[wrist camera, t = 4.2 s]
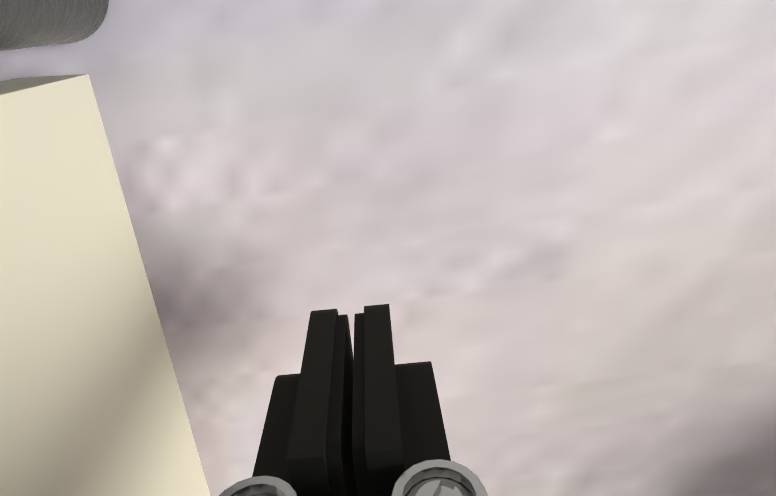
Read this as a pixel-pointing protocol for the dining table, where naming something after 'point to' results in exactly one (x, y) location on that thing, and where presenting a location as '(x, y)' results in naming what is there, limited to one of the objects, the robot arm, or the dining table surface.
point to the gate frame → (48, 21)
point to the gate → (79, 314)
